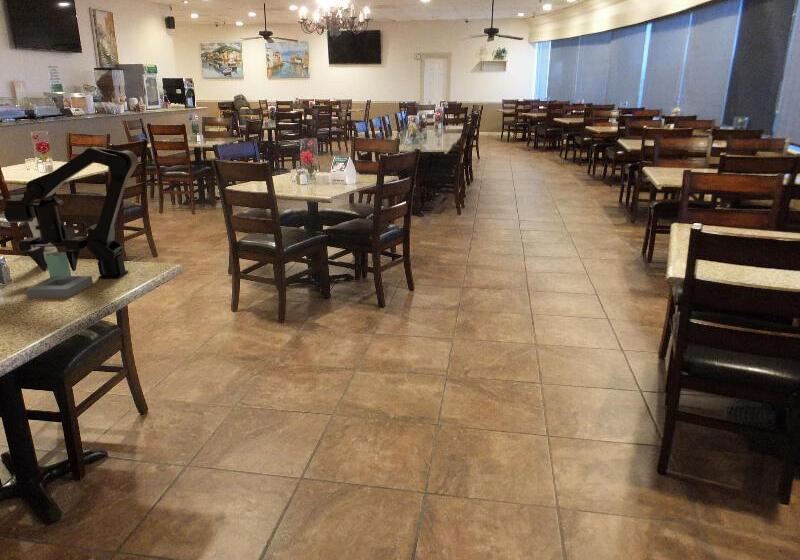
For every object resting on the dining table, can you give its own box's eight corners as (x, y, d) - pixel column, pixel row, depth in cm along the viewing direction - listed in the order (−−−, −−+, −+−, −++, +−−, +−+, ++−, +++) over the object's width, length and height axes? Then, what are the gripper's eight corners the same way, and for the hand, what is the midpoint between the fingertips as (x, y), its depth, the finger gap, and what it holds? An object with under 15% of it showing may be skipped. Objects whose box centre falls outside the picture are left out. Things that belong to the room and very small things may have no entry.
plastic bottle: (65, 261, 197) (52, 202, 191) (51, 266, 190) (38, 206, 184) (47, 261, 197) (34, 203, 191) (33, 266, 191) (19, 207, 185)
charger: (71, 277, 179) (65, 250, 176) (63, 281, 175) (57, 253, 172) (59, 277, 179) (53, 250, 176) (51, 281, 175) (44, 254, 172)
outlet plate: (93, 283, 171) (91, 275, 170) (68, 297, 160) (66, 289, 159) (54, 284, 172) (52, 276, 171) (27, 298, 161) (25, 289, 160)
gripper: (94, 214, 178) (103, 263, 183) (36, 215, 179) (47, 263, 184) (72, 222, 168) (83, 273, 173) (11, 223, 169) (23, 274, 174)
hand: (59, 270), depth 176 cm, fingers open, 9 cm apart
